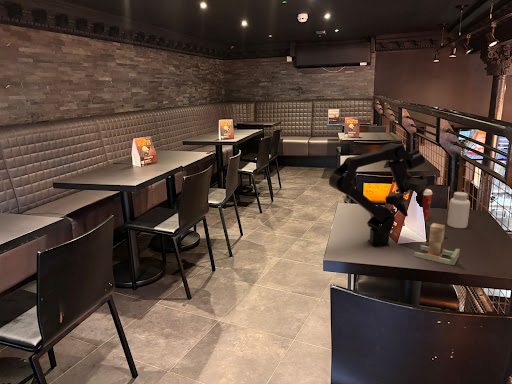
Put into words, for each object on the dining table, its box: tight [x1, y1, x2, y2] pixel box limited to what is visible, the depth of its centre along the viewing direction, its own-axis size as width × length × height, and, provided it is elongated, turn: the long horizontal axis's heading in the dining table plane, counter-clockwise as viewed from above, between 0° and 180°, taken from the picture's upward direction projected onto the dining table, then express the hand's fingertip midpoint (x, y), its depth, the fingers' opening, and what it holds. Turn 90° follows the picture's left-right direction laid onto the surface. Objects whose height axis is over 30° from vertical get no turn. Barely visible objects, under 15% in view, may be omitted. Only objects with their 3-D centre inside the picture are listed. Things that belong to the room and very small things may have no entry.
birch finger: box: [427, 222, 446, 258], centre depth 135 cm, size 4×4×12 cm
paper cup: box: [423, 188, 433, 221], centre depth 174 cm, size 8×8×14 cm
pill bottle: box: [447, 191, 471, 229], centre depth 163 cm, size 8×8×15 cm
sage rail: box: [413, 244, 461, 266], centre depth 136 cm, size 13×8×3 cm, turn 51°
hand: (414, 211), depth 144 cm, fingers open, 9 cm apart
